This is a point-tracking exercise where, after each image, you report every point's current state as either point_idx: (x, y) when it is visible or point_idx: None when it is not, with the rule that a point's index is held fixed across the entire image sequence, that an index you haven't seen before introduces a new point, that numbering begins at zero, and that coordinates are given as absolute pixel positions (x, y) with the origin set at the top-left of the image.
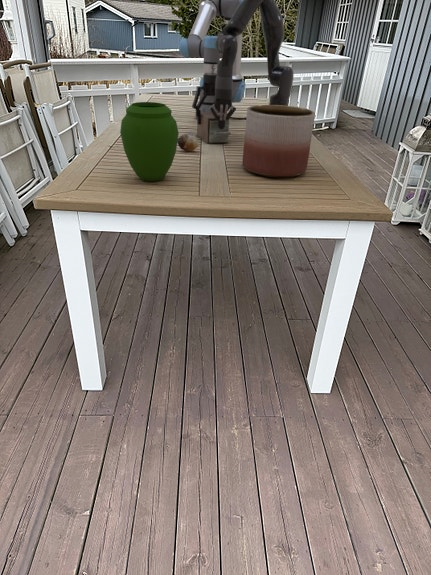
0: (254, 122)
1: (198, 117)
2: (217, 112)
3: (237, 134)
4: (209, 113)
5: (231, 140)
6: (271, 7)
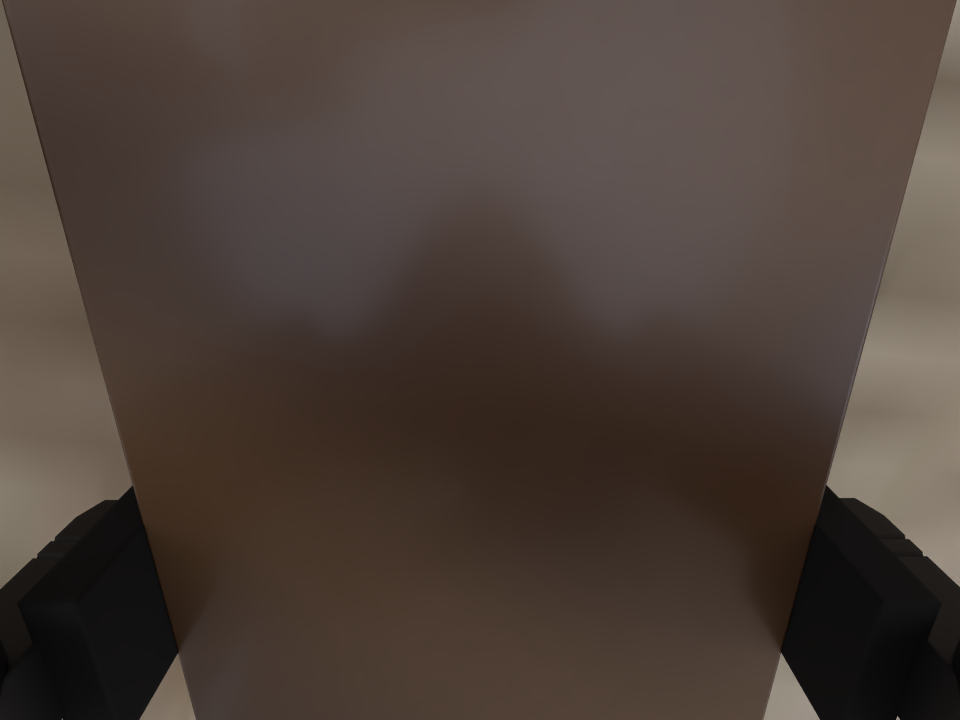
0: None
1: None
2: (217, 666)
3: (23, 449)
4: (511, 548)
5: None
6: None
